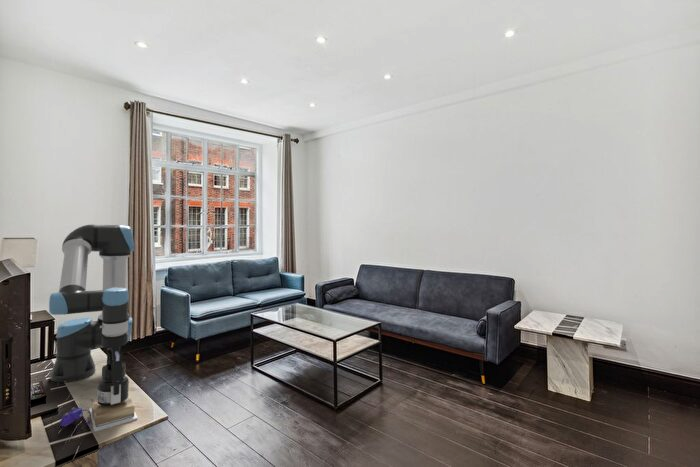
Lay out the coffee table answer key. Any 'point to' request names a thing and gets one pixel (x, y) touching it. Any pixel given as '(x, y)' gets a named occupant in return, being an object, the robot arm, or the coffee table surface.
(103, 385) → the ink bottle
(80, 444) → the coffee table surface
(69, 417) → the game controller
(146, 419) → the coffee table surface
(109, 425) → the grey thin flat slab
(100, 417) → the oak plinth
